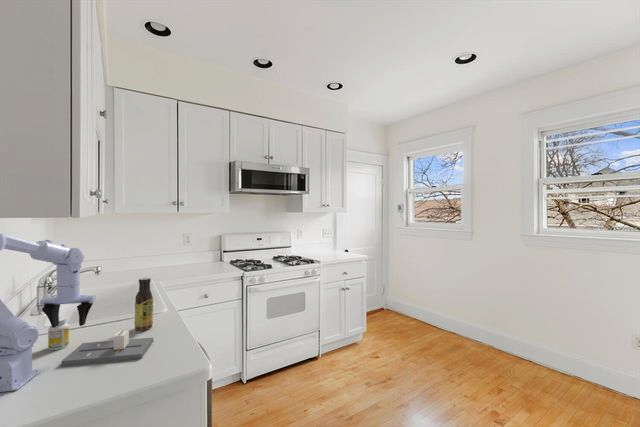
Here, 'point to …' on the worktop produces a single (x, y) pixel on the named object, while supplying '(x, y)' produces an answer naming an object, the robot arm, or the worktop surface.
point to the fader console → (107, 352)
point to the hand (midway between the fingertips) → (68, 325)
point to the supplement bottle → (58, 335)
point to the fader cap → (121, 339)
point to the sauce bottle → (144, 306)
